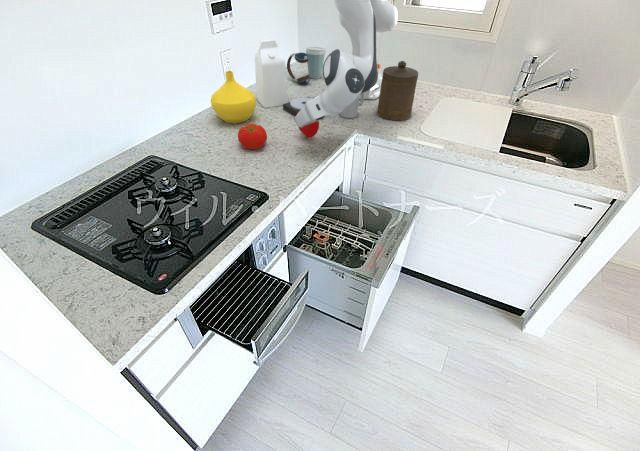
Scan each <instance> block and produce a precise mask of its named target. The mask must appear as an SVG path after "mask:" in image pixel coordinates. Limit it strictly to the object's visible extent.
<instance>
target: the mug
mask: <svg viewBox="0 0 640 451" xmlns="http://www.w3.org/2000/svg"><path fill="white" fill-rule="evenodd" d="M360 94H361V99H359V96H358V97H357V98H356V99H355V100H354V101H353V102H352V103H351V104H350V105H349V106H347V107H346V108H345V109H344V110H343V111H342V112H341V113H339V114H338V115H339V117H341V118H345V119H354V118H356V117H358V114H359V107H361V106H363V104H364V101H365V99H364V93H360Z"/></svg>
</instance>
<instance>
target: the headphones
mask: <svg viewBox="0 0 640 451" xmlns="http://www.w3.org/2000/svg"><path fill="white" fill-rule="evenodd" d="M289 55H290V56H289V57H288V58H287V62H286V71H287V73H288V75H289V77H290V78H291V79H292V80H293V81H294V82H295V83H296V82H297V83H298V84H301V85H307V84H309V82H310V81H311V78H310V76H309V74H307V75H304V76H301V77H298V78H297V77H295V75H294V74H293V72H292V69H291V61H292V58H293V57H294V60H295V61H296V62H297V63H300V64H306V63H307V62H308V60H309V57H308V55H307V54H306V52H294V53H291V54H289ZM313 81H315V82H316V79H313Z"/></svg>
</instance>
